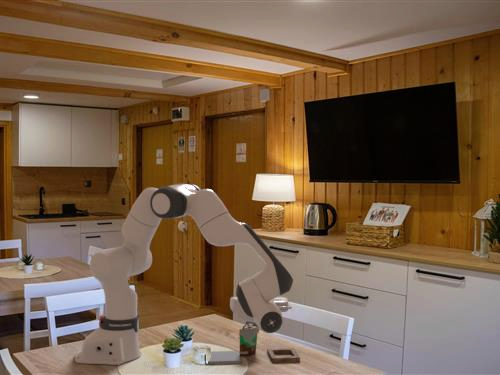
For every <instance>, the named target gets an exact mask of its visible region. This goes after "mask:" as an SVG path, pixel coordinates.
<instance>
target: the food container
mask: <svg viewBox="0 0 500 375" xmlns="http://www.w3.org/2000/svg"><path fill="white" fill-rule="evenodd" d="M238 333H239V334H238V336H239V356H240V357H249V356H253V355H255V354H256V352H257V343H258V342H257V340H258V333H260V328H259V327H258V326H257V325H256V323H255V321H251V320H245V325H243V326H242V328H240V329H239V332H238Z"/></svg>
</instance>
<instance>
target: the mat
mask: <svg viewBox="0 0 500 375" xmlns="http://www.w3.org/2000/svg"><path fill="white" fill-rule="evenodd" d="M210 352H211V358H210V360H209V361H208V364H207V365H228V364H229V365H232V364H233V365H234V364H235V365H236V364H242V359H241V356H240V352H239V351H238V350H220V351H219V350H218V351H210Z"/></svg>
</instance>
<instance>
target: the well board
mask: <svg viewBox="0 0 500 375" xmlns="http://www.w3.org/2000/svg"><path fill="white" fill-rule="evenodd" d="M266 353H267V355H268V358H269V359H270V361H271V363H300V362H301V357H300V355H299V354H298V353H297V351H296V349H295V348H294V347H288V348H287V347H286V348H285V347H284V348H283V347H282V348H281V347H280V348H267V349H266ZM283 354H284V355H286V356H276V355H283ZM287 354H288V355H289V356H287ZM290 355H291V356H290Z"/></svg>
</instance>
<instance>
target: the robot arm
mask: <svg viewBox="0 0 500 375" xmlns="http://www.w3.org/2000/svg"><path fill="white" fill-rule="evenodd" d="M225 205H226V204H224V202H223V200H221V198H220V197H219V196H218V195H217V193H216V192H214V190H212V189H210V188H203V189H201V188H200V187H199V186H198V185H195V184H194V183H188V182H187V183H174V184H171V185H167V186H162V187H160V188H156V187H146V188H145V189H143V191H142V192H141V193H140V194H139V196H137V197H136V199H135V202H134V203H133V204H132V206H131V208H130V210H129V212H128V213H127V215H126V218H125V221H124V222H123V224H122V227H121V234H122V236H123V238H124V241H123V244H122V245H120V246H117V247H111V248H105V249H102V250H100V251H98V252H95V253H94V254H93V255H92V257H91V258H90V261H89V270H90V273H91V275H92V277H94V279H95V280H97V281H99V283H100V284H101V286H102V290H103V293H104V302H105V305H104V308H105V309H104V310H105V313H104V314H100V316H99V318H98V319H99V320H98V327H97V328H96V329H95V330H93V331H92V332H91V333H90V334H88V335H87V336H86V337H85V339H84V341H83V343H82V346H81V348H80V349H79V350H78V351H77V352H76V353H75V356H74V362H75V363H77V364H88V365H91V364H93V365H110V366H113V365H114V366H115V365H116V366H119V365H122V364H125V363H126V362H130V361H134V360H136V359H138V358H139V357H141V354H142V352H141V350H140V349H141V348H140V344H139V336H138V331H139V315H138V294H137V292H136V291H135V290H134V289H133V288H131V287H130V284H129V277H132V276H137V275H140V274H142V273H144V272H145V271H147V270H148V269H150V267H151V266H152V265H153V264H152V263H153V255H152V251H151V250H150V247H151V243H152V239H153V238H154V236H155V234H156V232H157V229H158V228H159V226H160V224H161V222H162V220H164V219H165V220H172V219H178V218H183V217H185V216H190V217H191V218H192V219H193V220H194V222H195V224H196V226H197V228H198V229H199V231H200V233H201V234H202V236H203V237H204V240H206V241H207V243H208V244H210V245H213V246H215V247H229V246H234V245H246V246H249V247H250V248H251V249H252V250H253V251H254V252H255V253H256V255H258V257H259V258H260V259H261V261H262V262H263V263H264V264H265V267H264V268H263V269H262V270H260V271H258V272H256V273H255V274H253V275H251V276H249V277H246V278H245V279H244V280H242V281H240V282H239V283H238V284H237V286H236V289H235V295H236V296H231V297H230V299H229V308H230V310H231V312H233V314H235V315H236V318H238V319H241V320H246V321H251V322H255V323H256V325H257V326H258V327H259V330H261V331H262V332H264V333H265V334H275V333H276V332H277V331H279V330H280V329H281V327H282V325H283V323H284V317H283V313H287V312H288V311H289V310H291V309H292V308H293V306H292V305H291V304H289V299H288V298H287V297H286V296H285V297H284V296H283V295H284V294H287V293H288V292H290V290H291V289H292V287H293V283H294V279H293V275H292V273H291V271H290V270H289V269H288V268H287V267H286V265H285V264H283V263H282V262H281V261H280V260H279V259H278V257H276V256H275V254H274V253H273V252H272V251H271V249H270V247H268V246H267V245H266V244H265V242H264V241H263V240H262V239H261V238H260V236H259V235H258V233H257V232H256V231H255V230H254V229H253V228H252V227H251V226H249V224H247V223H245V222H239V221H238V220H236V219H235V218H234V217H233V216H232V215H231V213H230V212H229V210H228V209H227V207H226V206H225Z"/></svg>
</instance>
